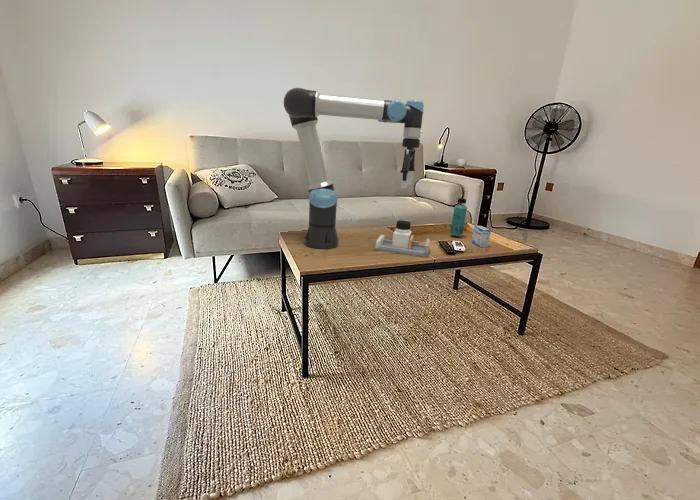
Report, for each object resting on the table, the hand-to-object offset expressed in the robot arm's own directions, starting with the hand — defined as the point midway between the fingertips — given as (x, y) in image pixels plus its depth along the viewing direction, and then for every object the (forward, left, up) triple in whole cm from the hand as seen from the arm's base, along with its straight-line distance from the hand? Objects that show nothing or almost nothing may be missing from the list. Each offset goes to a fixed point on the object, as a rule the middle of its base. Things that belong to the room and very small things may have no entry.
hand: (406, 186), depth 159 cm
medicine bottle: (+2, -16, -25) cm, 30 cm away
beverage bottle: (+26, +20, -26) cm, 42 cm away
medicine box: (+37, +10, -26) cm, 46 cm away
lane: (+3, -16, -26) cm, 30 cm away
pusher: (+8, -16, -24) cm, 30 cm away
